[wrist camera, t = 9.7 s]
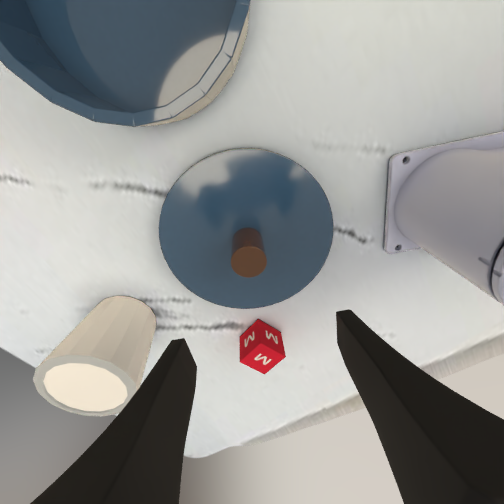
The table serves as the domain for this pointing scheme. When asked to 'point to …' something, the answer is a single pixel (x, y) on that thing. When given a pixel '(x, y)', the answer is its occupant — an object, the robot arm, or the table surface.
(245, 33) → the bowl
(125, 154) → the table surface
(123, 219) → the table surface
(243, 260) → the lid
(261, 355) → the red letter cube
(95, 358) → the beige cup
